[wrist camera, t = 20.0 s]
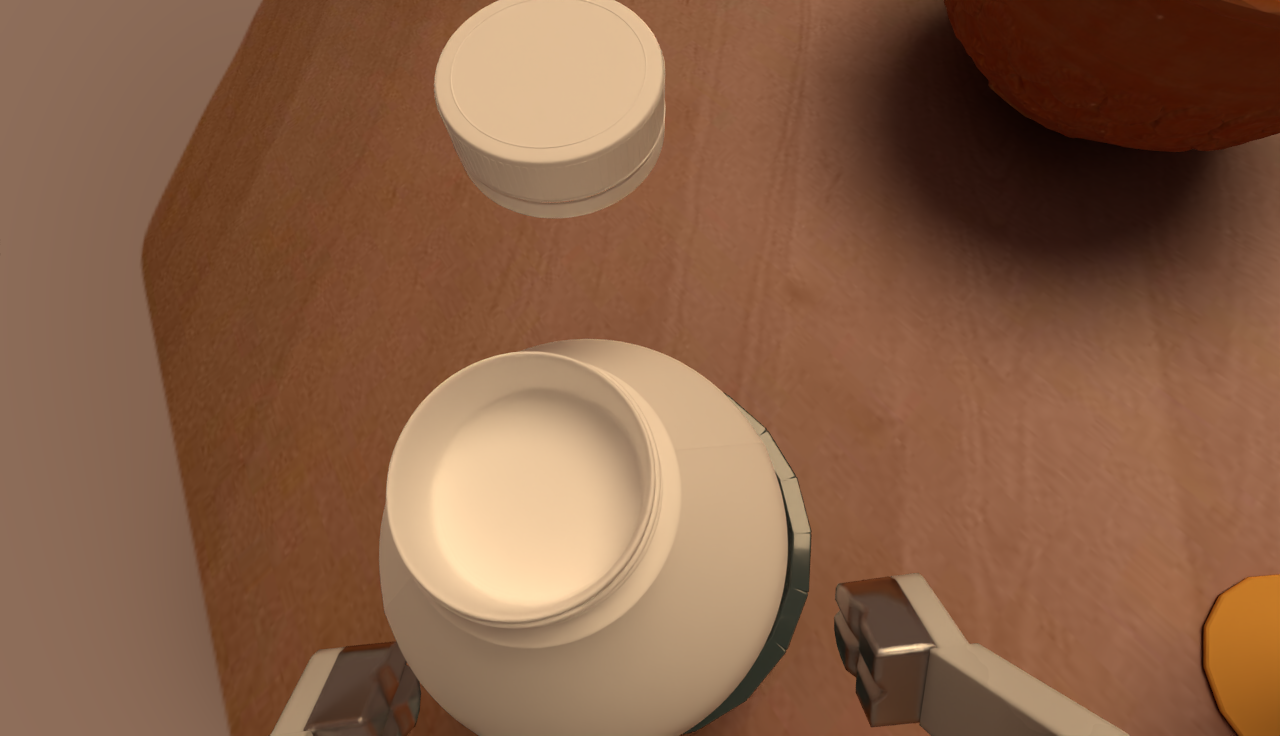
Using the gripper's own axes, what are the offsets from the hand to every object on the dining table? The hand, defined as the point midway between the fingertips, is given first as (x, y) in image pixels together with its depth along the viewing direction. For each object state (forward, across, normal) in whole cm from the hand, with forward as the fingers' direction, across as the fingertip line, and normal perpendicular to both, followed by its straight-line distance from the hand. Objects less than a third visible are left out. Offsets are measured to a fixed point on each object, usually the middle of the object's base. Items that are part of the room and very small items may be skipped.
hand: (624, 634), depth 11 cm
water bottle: (+15, 0, +10) cm, 18 cm away
